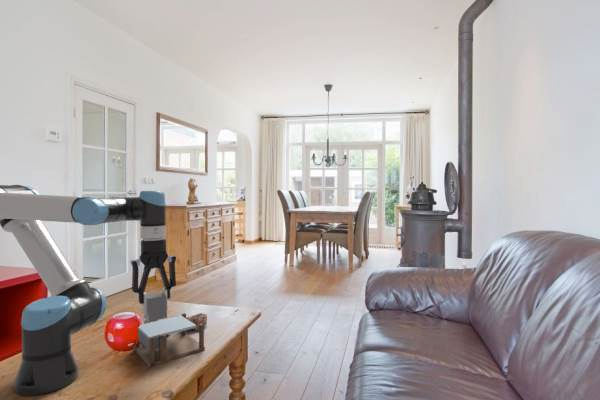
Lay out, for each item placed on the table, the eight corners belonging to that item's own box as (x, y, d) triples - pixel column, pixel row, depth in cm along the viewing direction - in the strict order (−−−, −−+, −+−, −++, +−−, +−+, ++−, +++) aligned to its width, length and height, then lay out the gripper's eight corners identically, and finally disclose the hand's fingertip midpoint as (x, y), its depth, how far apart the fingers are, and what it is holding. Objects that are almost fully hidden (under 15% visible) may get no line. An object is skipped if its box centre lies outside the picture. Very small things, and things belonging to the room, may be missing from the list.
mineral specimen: (201, 330, 140) (192, 315, 140) (184, 340, 141) (176, 325, 141) (211, 319, 152) (203, 305, 152) (196, 328, 152) (188, 314, 153)
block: (148, 321, 111) (148, 299, 111) (144, 317, 115) (143, 295, 115) (167, 317, 114) (166, 295, 114) (161, 313, 119) (161, 292, 119)
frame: (150, 368, 113) (150, 339, 113) (132, 348, 127) (132, 323, 127) (206, 350, 126) (206, 325, 125) (184, 335, 139) (184, 311, 139)
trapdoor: (149, 350, 115) (149, 337, 115) (136, 338, 125) (136, 325, 125) (196, 337, 126) (196, 325, 126) (181, 327, 136) (181, 315, 135)
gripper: (124, 242, 106) (126, 321, 106) (186, 237, 117) (187, 308, 118) (119, 240, 112) (120, 314, 112) (178, 235, 123) (179, 302, 124)
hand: (155, 311), depth 115 cm, fingers closed on block, 5 cm apart
